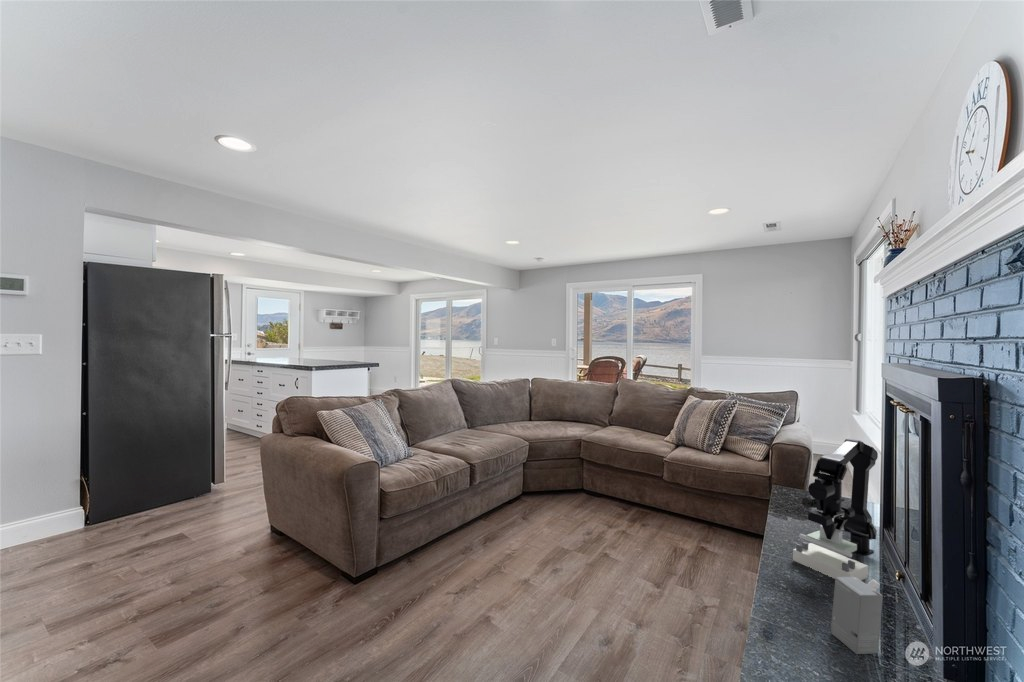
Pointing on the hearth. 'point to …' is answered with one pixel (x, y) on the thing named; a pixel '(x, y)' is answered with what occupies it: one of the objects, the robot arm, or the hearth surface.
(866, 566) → the white box base
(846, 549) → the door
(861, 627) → the skincare box
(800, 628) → the hearth surface
